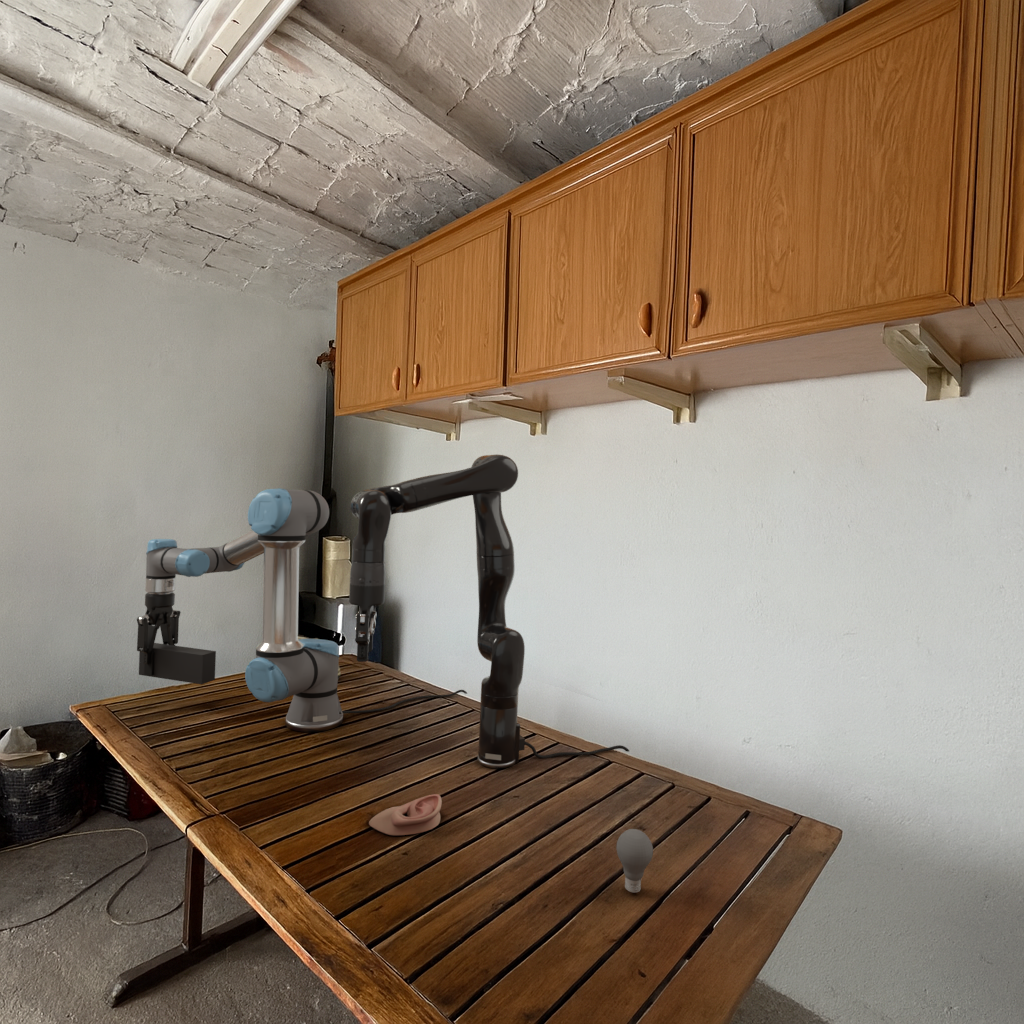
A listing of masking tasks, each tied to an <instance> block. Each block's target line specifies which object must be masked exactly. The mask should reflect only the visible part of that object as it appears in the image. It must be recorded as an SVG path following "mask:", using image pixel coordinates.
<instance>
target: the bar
mask: <svg viewBox="0 0 1024 1024" xmlns="http://www.w3.org/2000/svg"><path fill="white" fill-rule="evenodd" d="M174 645H175V644H174ZM174 645H167V644H163V643H158V642H154V646H153V650H152V652H155V657H154V675H152V676H151V675H144V663H143V652H140V651H139V656H138V657H139V658H138V675H139V676H144V677H151V678H157V679H163V680H171V681H177V682H183V683H189V684H197V685H204V684H207V683H211V682H213V681H215V680H216V663H217V661H216V659H217V651H216V650H211V649H203V648H195V647H188V646H180V645H175V646H174ZM147 648H148V647H147Z"/></svg>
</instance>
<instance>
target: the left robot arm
mask: <svg viewBox="0 0 1024 1024" xmlns="http://www.w3.org/2000/svg"><path fill="white" fill-rule="evenodd" d="M329 517H330V508H329V504H328V502H327V500H326V499H325V497H323V496H322V495H321V494H320V493H318V492H316V491H315V490H310V489H293V488H281V487H278V488H267V489H264V490H261V491H260V492H258V493H257V494H256V495H255V497H253V498H252V500H251V501H250V504H249V506H248V509H247V521H248V522H247V523H248V525H249V526H250V529H251V530H249V531H247V532H245V533H243V534H241V535H240V536H238V537H235V538H233V539H231V540H230V541H228V542H226V543H223V544H222V545H220V546H213V547H212V546H211V547H194V548H183V547H178V541H177V540H175V539H171V538H153V539H149V540H148V542H147V547H146V553H145V555H146V560H145V561H146V562H145V589H144V591H145V592H146V593H145V594H144V606H145V608H146V610H145V612H144V613H145V614H144V615H143V616H137V617H136V623H137V640H136V641H137V642H136V651H137V652H139V653H140V652H143V663H144V675H151V676H152V675H154V657H155V652H152V650H153V646H154V643H156V638H157V633H158V630H159V629H160V633H161V638H162V639H161V640H162V644H167V645H174V646H176V645H177V644H178V643H179V629H180V628H179V627H180V626H179V624H180V623H179V622H180V616H181V613H182V612H181V610H175V609H173V606H175V603H176V602H175V601H176V600H175V598H176V594H175V592H174V591H175V590H176V575H178V576H184V577H188V578H191V577H194V578H197V577H201V576H203V575H205V574H206V575H207V574H213V573H225V572H228V573H229V572H233V571H237V570H240V569H242V568H243V566H244V565H245V563H247V562H249V561H250V560H252V559H254V558H256V557H259V556H261V555H263V582H262V584H263V585H262V586H263V588H262V591H263V592H262V598H263V599H262V640H261V642H260V643H259V644H258V645H257V646H256V647H255V657H254V658H253V659H252V660H251V661H249V663H248V664H247V665H246V668H245V672H244V677H245V683H246V686H247V688H248V690H249V692H250V693H251V694H252V695H253V697H255V699H257V700H258V701H261V702H263V703H274V702H279V701H283V700H285V699H287V698H290V697H292V699H291V702H290V704H289V708H288V711H287V713H286V715H285V726H286V728H287V729H289V730H291V731H294V732H295V731H296V732H301V733H316V732H325V731H329V730H332V729H335V728H337V727H339V726H340V725H342V723H343V722H344V715H345V714H365V713H375V712H381V711H386V710H389V709H392V708H395V707H397V706H398V705H401V704H404V703H407V702H411V701H415V700H422V699H429V698H448V697H453V696H455V695H458V694H459V693H464V694H465V695H466V694H468V692H467V691H466V690H465V689H458V690H456V691H454V692H452V693H447V694H432V695H431V694H430V695H429V694H428V695H421V696H420V695H419V696H415V697H410V698H406V699H402V700H399V701H397V702H395V703H393V704H391V705H389V706H385V707H380V708H373V709H362V710H343V709H342V706H341V702H340V699H339V695H338V682H339V679H338V665H339V662H340V661H339V660H340V654H339V653H340V652H339V648H340V647H339V645H338V643H337V642H335V641H333V640H328V639H320V638H318V639H315V638H308V639H299V640H298V637H299V590H300V589H299V588H300V587H299V585H300V583H299V581H300V548H301V546H302V545H303V544H305V542H306V537H308V536H310V535H312V534H314V533H316V532H319V531H320V530H322V529H323V528H324V527H325V526H326V524H327V523H328V520H329ZM147 647H148V648H147Z"/></svg>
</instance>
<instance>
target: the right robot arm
mask: <svg viewBox="0 0 1024 1024" xmlns="http://www.w3.org/2000/svg"><path fill="white" fill-rule="evenodd" d="M518 479H519V469H518V466H517V464H516V462H515V461H514V459H512V458H511V457H509V456H507V455H504V454H485V455H481V456H478V457H477V458H476V459H475V460H474V461H473V463H472V465H471V467H468V468H465V469H460V470H456V471H449V472H443V473H442V472H441V473H435V474H431V475H430V474H429V475H425V476H420V477H415V478H411V479H408V480H404V481H401V482H398V483H395V484H391V485H385V486H377V487H372V488H368V489H363V490H360V491H359V492H357V493H356V494H354V496H353V497H352V499H351V501H350V512H351V513H352V516H353V517H354V518H355V519H357V520H358V527H357V534H356V535H355V536H354V537H353V539H352V550H351V551H352V552H351V565H350V572H349V595H348V596H349V597H348V602H349V604H351V605H352V606H358V607H359V610H357V613H355V622H356V623H355V638H354V641H355V644H357V646H356V649H357V650H356V661H357V662H359V663H360V662H361V663H366V662H368V660H369V653H371V652H372V651H373V645H374V643H373V642H374V634H375V629H376V624H377V621H376V619H377V611H376V608H377V607H378V606H381V605H384V604H385V602H386V601H385V599H386V576H387V573H386V572H387V571H386V570H387V569H386V542H387V537H388V533H389V528H390V525H391V524H390V523H391V519H392V515H395V514H407V513H413V512H416V511H420V510H423V509H426V508H431V507H434V506H437V505H441V504H444V503H447V502H451V501H454V500H457V499H461V498H466V497H469V496H472V500H473V507H474V519H475V523H474V524H475V541H476V545H475V546H476V570H477V586H478V587H477V588H478V589H477V590H478V622H477V638H476V639H477V649H478V652H479V654H480V656H482V658H484V659H485V660H487V661H488V662H490V663H491V664H490V674H489V675H488V676H485V677H484V678H483V679H482V680H481V684H480V707H479V710H480V711H479V726H478V727H479V728H478V729H479V730H478V750H477V762H478V764H479V765H481V766H483V767H485V768H489V769H506V768H510V767H512V766H514V765H515V764H518V763H519V762H520V751H521V752H522V751H525V748H526V747H525V746H527V747H528V748H529V749H531V751H532V753H533V755H534V757H535V758H538V759H551V758H556V757H561V756H562V757H563V756H566V757H567V756H570V757H574V756H575V757H578V756H579V757H582V756H592V755H595V754H600V753H605V752H610V751H615V750H617V749H618V750H619V749H621V750H623V751H625V752H626V753H627V752H630V750H629V748H628V747H626V746H625V745H621V744H619V745H614V746H609V747H603V748H599V749H595V750H591V751H581V752H577V751H576V752H573V751H571V752H570V751H567V752H565V751H563V752H554V753H550V754H547V755H545V754H544V755H543V754H542V755H541V754H539V753H538V752H537V749H536V748H535V746H534V745H532V744H531V743H530V742H527V741H526V738H525V737H524V736H522V734H521V724H520V722H518V714H519V713H518V712H519V709H518V708H519V689H520V686H521V684H522V681H523V674H524V665H525V654H526V653H525V652H526V651H525V650H526V648H525V647H526V646H525V640H524V637H523V635H522V634H521V632H519V631H517V630H516V629H513V628H511V627H508V626H507V621H506V600H507V597H508V595H509V592H510V588H511V586H512V583H513V581H514V577H515V571H516V566H515V563H516V562H515V547H514V542H513V539H512V535H511V533H510V531H509V528H508V526H507V523H506V521H505V518H504V514H503V507H502V493H506V492H508V491H509V490H511V489H512V488H513V487H514V486H515V485H516V483H517V481H518Z"/></svg>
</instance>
